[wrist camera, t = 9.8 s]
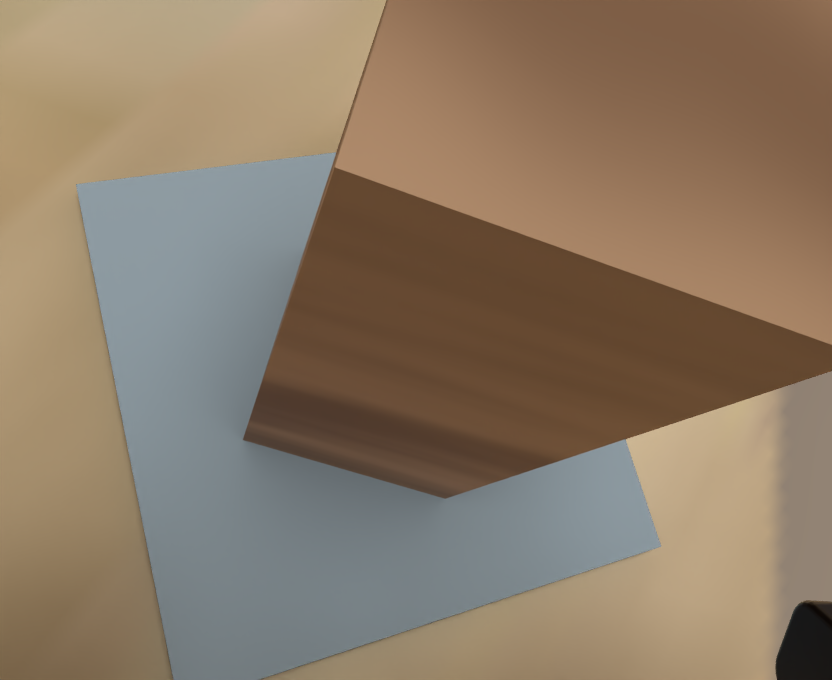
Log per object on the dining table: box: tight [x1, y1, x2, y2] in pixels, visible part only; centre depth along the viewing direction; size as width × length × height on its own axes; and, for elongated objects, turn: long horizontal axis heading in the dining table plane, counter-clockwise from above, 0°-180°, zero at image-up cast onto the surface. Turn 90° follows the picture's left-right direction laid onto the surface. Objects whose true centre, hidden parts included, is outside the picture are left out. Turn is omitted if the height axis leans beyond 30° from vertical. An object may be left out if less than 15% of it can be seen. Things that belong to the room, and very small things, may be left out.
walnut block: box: [243, 0, 832, 499], centre depth 14 cm, size 5×5×13 cm
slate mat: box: [76, 153, 661, 680], centre depth 20 cm, size 12×12×1 cm
